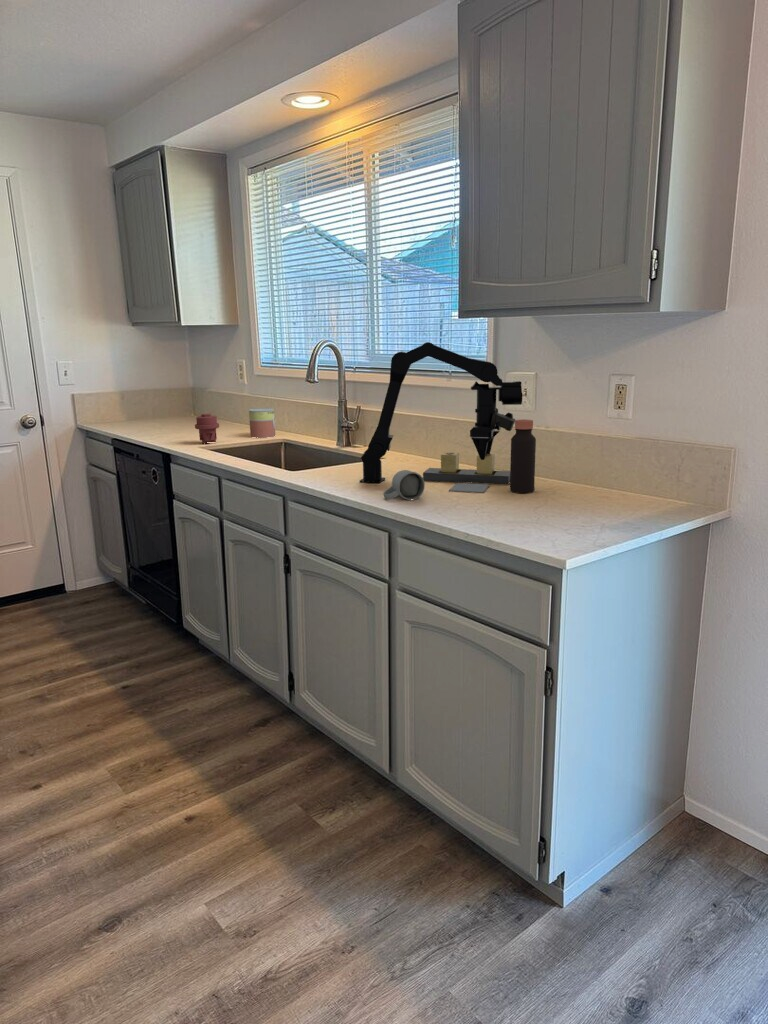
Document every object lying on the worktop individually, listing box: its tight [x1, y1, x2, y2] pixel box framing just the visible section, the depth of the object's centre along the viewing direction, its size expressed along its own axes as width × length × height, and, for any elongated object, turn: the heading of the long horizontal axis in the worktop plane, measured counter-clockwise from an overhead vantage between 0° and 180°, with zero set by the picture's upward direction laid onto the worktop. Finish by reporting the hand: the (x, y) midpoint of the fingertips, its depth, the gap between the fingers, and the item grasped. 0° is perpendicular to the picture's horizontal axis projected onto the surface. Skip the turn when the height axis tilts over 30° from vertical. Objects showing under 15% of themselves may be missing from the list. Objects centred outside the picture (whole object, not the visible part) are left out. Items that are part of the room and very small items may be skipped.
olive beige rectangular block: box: [476, 453, 496, 475], centre depth 214 cm, size 5×5×8 cm
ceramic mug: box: [382, 469, 426, 501], centre depth 195 cm, size 11×8×8 cm
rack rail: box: [422, 467, 510, 485], centre depth 216 cm, size 8×26×2 cm, turn 72°
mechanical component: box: [194, 413, 220, 444], centre depth 300 cm, size 12×10×10 cm
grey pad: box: [448, 482, 491, 494], centre depth 205 cm, size 10×10×1 cm
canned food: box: [248, 407, 277, 439], centre depth 317 cm, size 11×11×12 cm
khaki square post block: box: [440, 451, 460, 473], centre depth 217 cm, size 5×5×8 cm
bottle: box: [509, 419, 537, 494], centre depth 198 cm, size 7×7×20 cm
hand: (485, 457), depth 213 cm, fingers open, 9 cm apart
